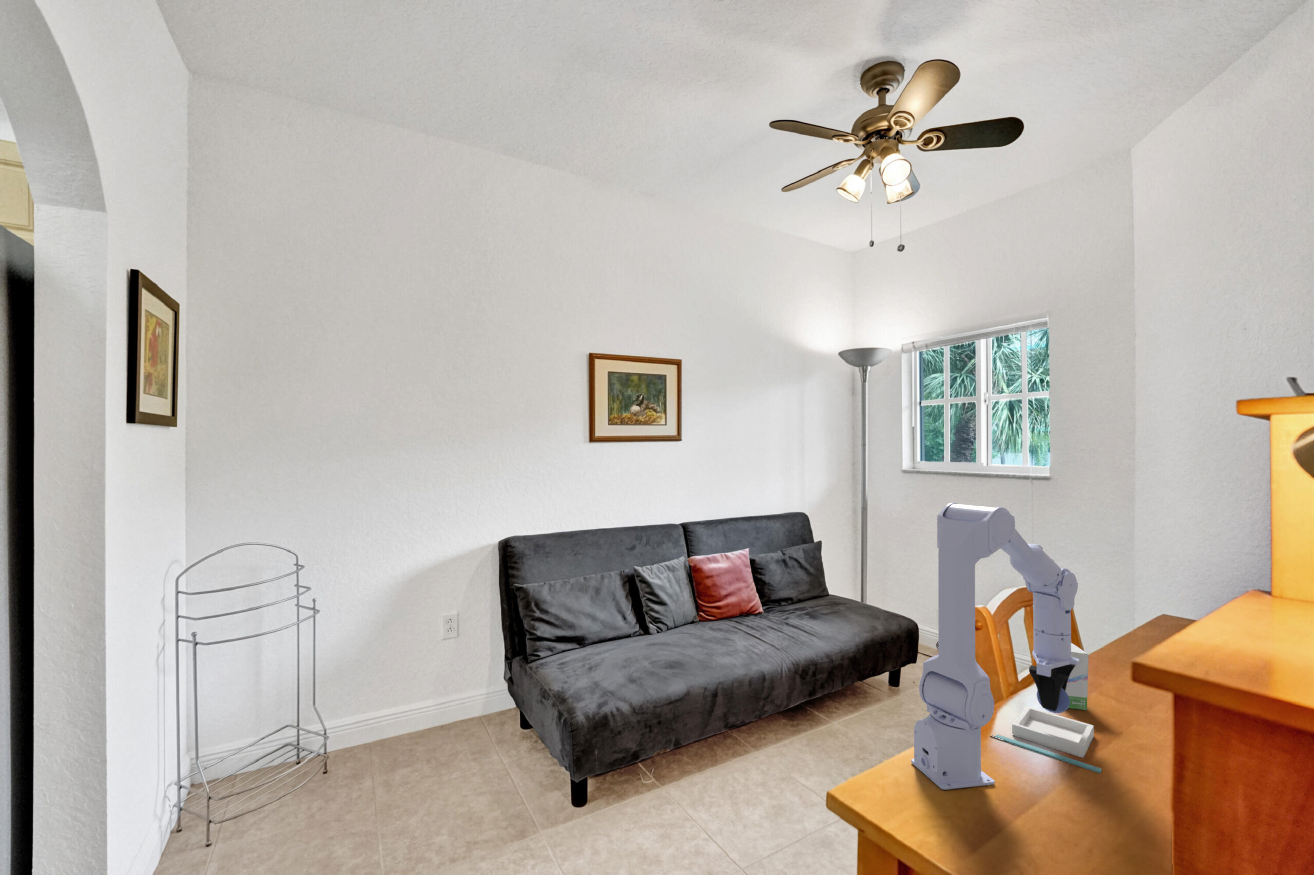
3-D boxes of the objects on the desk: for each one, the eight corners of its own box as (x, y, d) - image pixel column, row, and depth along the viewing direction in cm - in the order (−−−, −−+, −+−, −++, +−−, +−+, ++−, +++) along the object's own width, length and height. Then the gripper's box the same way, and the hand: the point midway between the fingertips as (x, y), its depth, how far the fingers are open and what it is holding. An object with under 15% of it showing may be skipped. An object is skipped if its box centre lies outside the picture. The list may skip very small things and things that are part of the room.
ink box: (1041, 691, 122) (1041, 637, 122) (1067, 693, 121) (1067, 638, 121) (1061, 708, 113) (1061, 650, 113) (1090, 711, 112) (1089, 652, 112)
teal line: (990, 736, 102) (990, 734, 102) (992, 734, 102) (992, 732, 102) (1100, 773, 90) (1100, 771, 90) (1101, 770, 91) (1101, 768, 91)
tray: (1083, 758, 95) (1083, 746, 95) (1012, 735, 102) (1012, 724, 102) (1093, 736, 102) (1093, 725, 102) (1026, 716, 110) (1026, 706, 110)
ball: (1053, 719, 99) (1053, 691, 99) (1030, 706, 104) (1029, 680, 104) (1076, 717, 100) (1076, 689, 100) (1052, 704, 105) (1052, 678, 105)
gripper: (1070, 645, 95) (1071, 725, 94) (1085, 627, 105) (1086, 699, 104) (1022, 635, 100) (1023, 711, 99) (1041, 618, 110) (1042, 687, 110)
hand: (1052, 704), depth 102 cm, fingers closed on ball, 5 cm apart
